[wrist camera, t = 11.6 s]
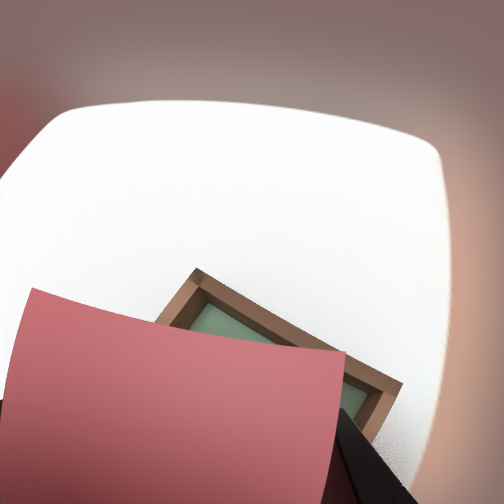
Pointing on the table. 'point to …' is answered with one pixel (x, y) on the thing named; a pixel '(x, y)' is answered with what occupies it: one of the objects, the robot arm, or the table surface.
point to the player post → (161, 413)
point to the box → (277, 343)
